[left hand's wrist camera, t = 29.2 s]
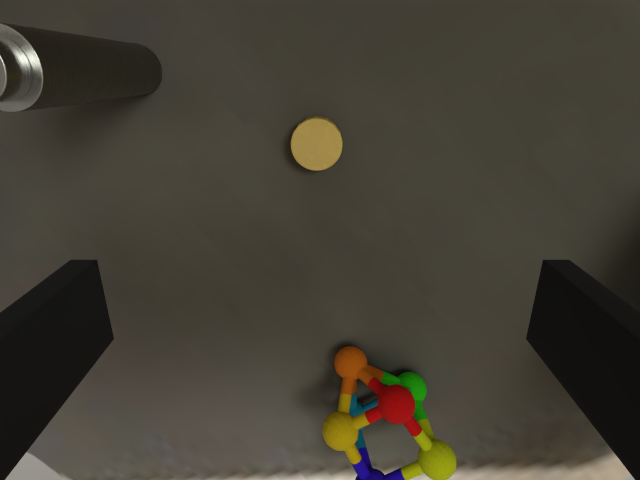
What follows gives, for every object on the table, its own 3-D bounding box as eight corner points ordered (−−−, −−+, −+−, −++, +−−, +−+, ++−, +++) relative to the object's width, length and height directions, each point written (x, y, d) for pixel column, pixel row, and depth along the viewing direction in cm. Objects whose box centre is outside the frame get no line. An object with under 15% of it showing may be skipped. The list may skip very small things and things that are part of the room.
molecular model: (323, 332, 49) (423, 382, 37) (386, 356, 56) (487, 404, 44) (272, 457, 47) (361, 552, 35) (344, 465, 54) (439, 547, 42)
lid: (325, 175, 42) (325, 180, 40) (282, 150, 41) (280, 154, 39) (351, 132, 41) (353, 136, 39) (307, 105, 40) (306, 107, 38)
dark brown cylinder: (113, 39, 38) (-87, 8, 19) (162, 48, 38) (13, 25, 20) (113, 91, 39) (-70, 107, 21) (161, 99, 40) (22, 122, 21)
